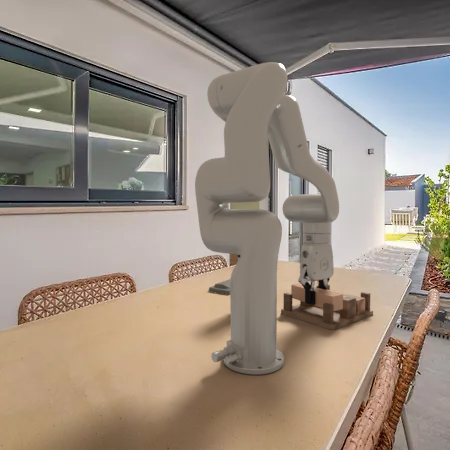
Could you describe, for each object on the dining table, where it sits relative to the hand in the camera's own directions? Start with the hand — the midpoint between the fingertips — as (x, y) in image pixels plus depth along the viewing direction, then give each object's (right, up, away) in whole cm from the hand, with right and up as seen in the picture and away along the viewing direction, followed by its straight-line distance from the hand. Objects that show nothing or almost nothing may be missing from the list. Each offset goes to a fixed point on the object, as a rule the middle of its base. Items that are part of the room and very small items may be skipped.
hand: (315, 301), depth 99 cm
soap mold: (-23, -4, +37) cm, 43 cm away
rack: (+4, -4, +3) cm, 7 cm away
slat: (0, 0, 0) cm, 0 cm away
